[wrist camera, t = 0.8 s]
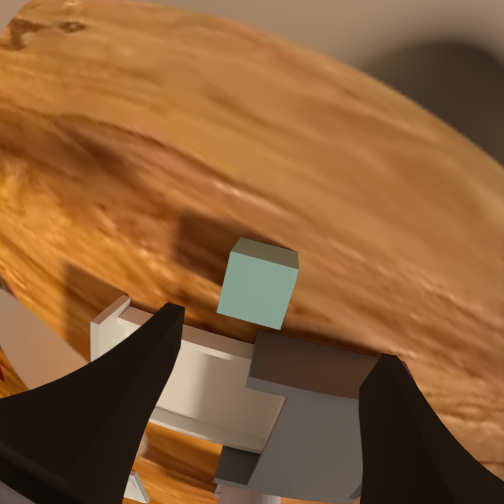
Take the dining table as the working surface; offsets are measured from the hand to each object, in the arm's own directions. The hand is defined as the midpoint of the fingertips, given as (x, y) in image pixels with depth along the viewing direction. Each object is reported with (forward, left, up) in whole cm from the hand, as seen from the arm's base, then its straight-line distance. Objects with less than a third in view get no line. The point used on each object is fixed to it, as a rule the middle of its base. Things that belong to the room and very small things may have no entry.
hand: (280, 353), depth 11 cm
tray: (-14, +4, -14) cm, 21 cm away
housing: (-14, -7, -15) cm, 21 cm away
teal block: (-2, +1, -15) cm, 15 cm away
